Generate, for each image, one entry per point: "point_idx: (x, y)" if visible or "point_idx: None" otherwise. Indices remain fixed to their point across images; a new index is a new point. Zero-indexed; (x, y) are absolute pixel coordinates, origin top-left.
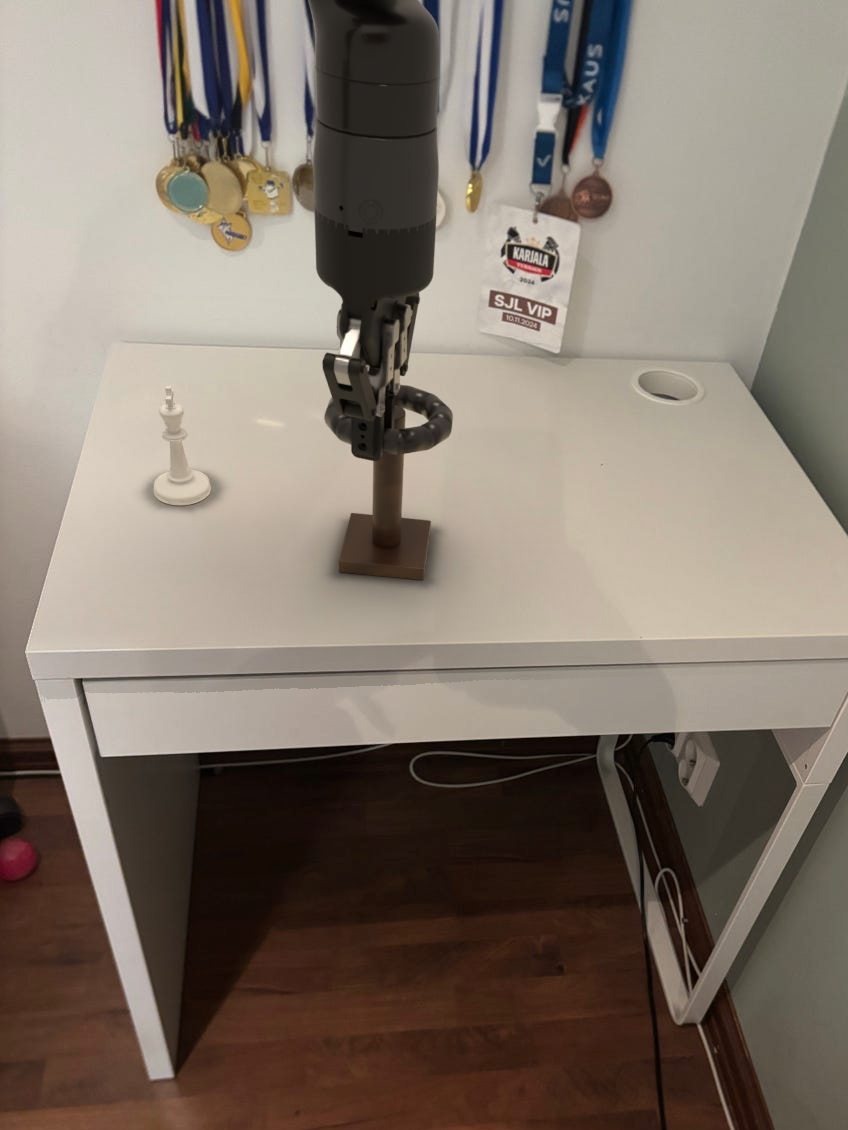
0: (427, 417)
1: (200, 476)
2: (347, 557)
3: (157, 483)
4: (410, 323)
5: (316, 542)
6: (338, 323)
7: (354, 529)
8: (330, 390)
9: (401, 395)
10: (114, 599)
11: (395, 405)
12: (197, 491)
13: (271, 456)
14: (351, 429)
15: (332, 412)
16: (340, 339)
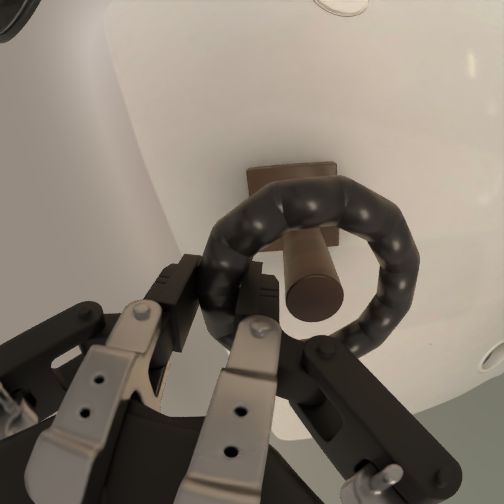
0: (335, 334)
1: (356, 3)
2: (253, 178)
3: None
4: (345, 478)
5: (292, 133)
6: (32, 465)
7: (306, 173)
8: (13, 339)
9: (383, 300)
10: (156, 9)
11: (339, 304)
12: (330, 5)
13: (426, 66)
14: (170, 277)
15: (259, 209)
16: (52, 427)
